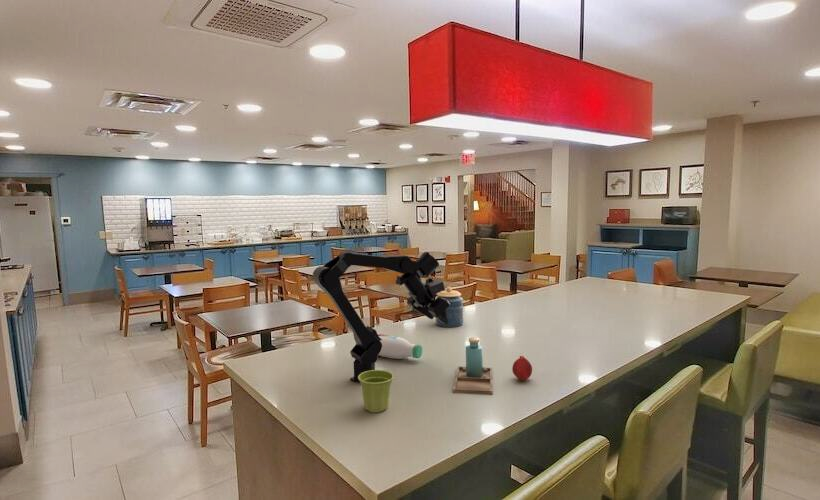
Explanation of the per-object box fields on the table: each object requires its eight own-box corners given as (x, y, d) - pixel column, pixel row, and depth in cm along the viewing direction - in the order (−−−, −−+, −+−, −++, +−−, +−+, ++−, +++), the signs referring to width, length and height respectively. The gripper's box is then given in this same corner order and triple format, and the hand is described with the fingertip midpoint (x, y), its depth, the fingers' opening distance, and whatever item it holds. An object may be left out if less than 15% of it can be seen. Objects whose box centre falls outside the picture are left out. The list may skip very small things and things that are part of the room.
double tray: (492, 396, 123) (492, 390, 122) (453, 393, 125) (453, 388, 124) (492, 372, 141) (492, 366, 141) (457, 370, 143) (457, 365, 143)
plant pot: (394, 399, 121) (393, 369, 121) (394, 415, 112) (393, 382, 111) (360, 400, 121) (359, 370, 120) (357, 416, 112) (356, 383, 111)
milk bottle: (370, 358, 162) (418, 367, 152) (363, 345, 157) (412, 353, 147) (379, 341, 167) (426, 349, 157) (372, 328, 162) (420, 336, 152)
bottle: (478, 379, 134) (478, 342, 133) (463, 376, 137) (462, 339, 136) (485, 373, 138) (485, 338, 137) (470, 370, 141) (470, 335, 140)
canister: (431, 322, 208) (430, 285, 207) (456, 319, 212) (456, 283, 211) (441, 328, 196) (441, 289, 195) (468, 326, 200) (467, 287, 198)
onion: (517, 376, 137) (517, 351, 137) (535, 380, 134) (535, 354, 133) (509, 381, 133) (509, 355, 132) (527, 386, 129) (527, 359, 128)
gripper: (448, 274, 139) (472, 310, 144) (418, 268, 155) (440, 301, 160) (424, 297, 135) (449, 333, 140) (396, 288, 151) (419, 321, 156)
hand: (439, 321), depth 149 cm, fingers open, 9 cm apart
